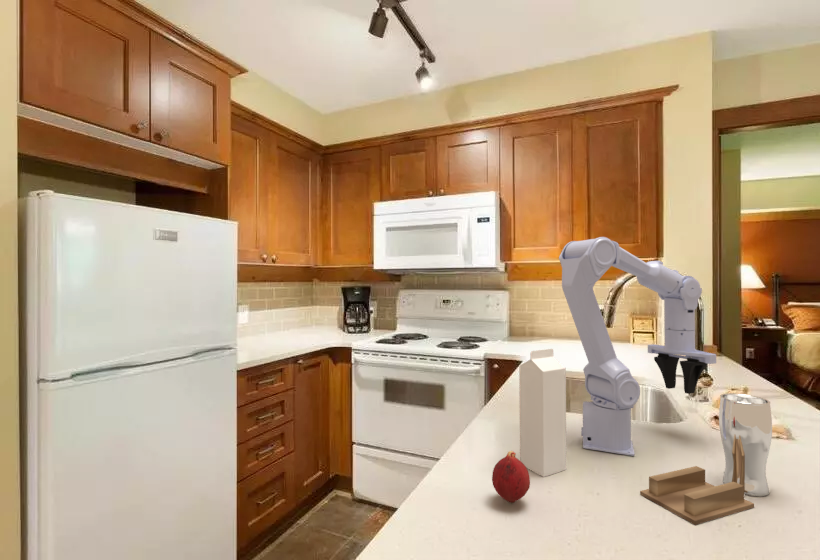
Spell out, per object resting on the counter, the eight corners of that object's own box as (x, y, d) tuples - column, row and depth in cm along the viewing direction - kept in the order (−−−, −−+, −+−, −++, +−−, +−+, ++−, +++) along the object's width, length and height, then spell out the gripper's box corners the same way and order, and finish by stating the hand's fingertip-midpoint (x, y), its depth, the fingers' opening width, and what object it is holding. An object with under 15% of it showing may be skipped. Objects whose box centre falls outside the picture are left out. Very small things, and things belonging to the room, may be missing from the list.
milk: (566, 470, 76) (567, 351, 76) (543, 477, 73) (543, 353, 73) (541, 457, 82) (541, 346, 82) (518, 464, 79) (519, 348, 79)
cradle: (640, 494, 67) (640, 475, 67) (695, 481, 72) (695, 463, 72) (695, 525, 59) (694, 503, 59) (754, 507, 63) (754, 487, 63)
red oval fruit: (523, 517, 61) (523, 462, 61) (486, 505, 64) (486, 454, 64) (534, 499, 66) (534, 449, 66) (499, 489, 69) (499, 442, 69)
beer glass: (783, 500, 65) (782, 405, 65) (733, 496, 67) (732, 403, 67) (756, 479, 72) (755, 393, 72) (711, 476, 74) (710, 391, 74)
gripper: (726, 332, 87) (726, 397, 87) (662, 325, 100) (662, 381, 100) (702, 333, 84) (703, 400, 84) (640, 326, 98) (641, 384, 98)
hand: (679, 390), depth 92 cm, fingers open, 4 cm apart
